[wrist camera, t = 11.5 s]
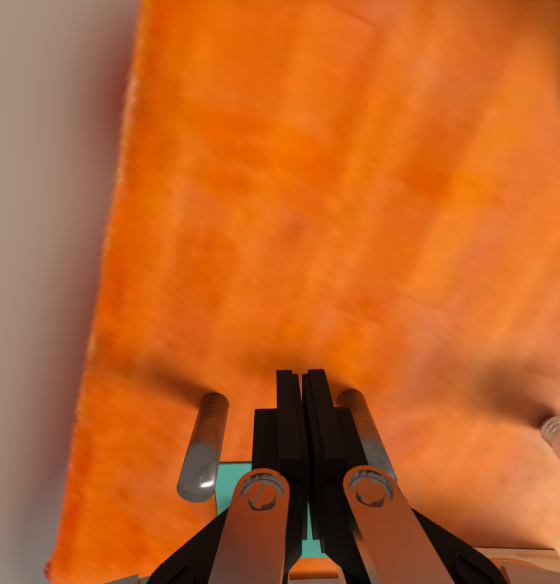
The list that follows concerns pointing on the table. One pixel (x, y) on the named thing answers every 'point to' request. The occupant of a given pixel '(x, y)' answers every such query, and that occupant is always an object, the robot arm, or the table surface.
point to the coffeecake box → (524, 557)
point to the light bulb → (551, 433)
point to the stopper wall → (316, 581)
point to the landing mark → (224, 493)
